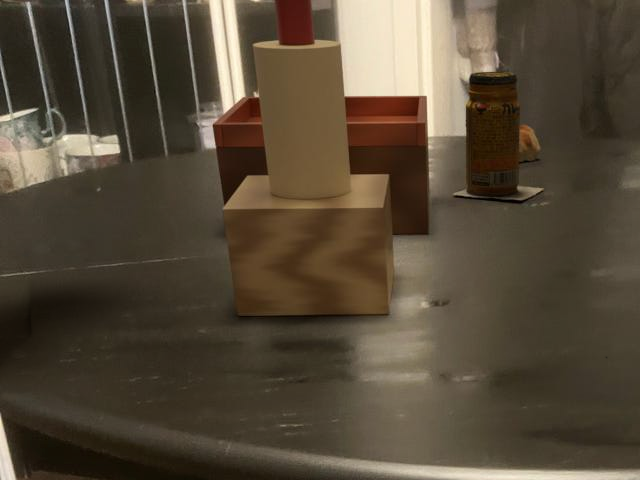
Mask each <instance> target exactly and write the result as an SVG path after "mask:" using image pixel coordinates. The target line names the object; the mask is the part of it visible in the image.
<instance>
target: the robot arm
mask: <svg viewBox="0 0 640 480" xmlns="http://www.w3.org/2000/svg"><path fill="white" fill-rule="evenodd" d="M2 1H3V2H8V3H31V2H42V1H43V0H2Z"/></svg>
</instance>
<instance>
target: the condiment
mask: <svg viewBox="0 0 640 480" xmlns="http://www.w3.org/2000/svg"><path fill="white" fill-rule="evenodd" d="M517 82H518V76H517V75H516V74H515V73H513V72H506V71H478V72H473V73H470V75H469V78H468V83H469V87H468V88H469V90H468V94H469V99H468V101H466V104H465V171H466V173H465V177H466V178H465V180H466V186H467V188H465V189H462V190H460V191H456V192H454V193H452V195H456V196H460V197H461V196H463V197H467V198H469V197H470V198H476V199H477V198H480V199H498V200H499V199H500V200H516V201H524V200H526V199H529V198H531V197H533V196H536V195H537V194H538V193H540V192H541V191H543V190H544V187H543V188H542V187H541V188H540V187H531V186H523V185H522V186H521V185H519V183H520V179H519V177H520V174H519V171H520V168H519V167H520V162H519V131H520V130H519V129H520V126H521V124H520V123H521V122H520V121H521V112H520V111H521V105H520V102H519V100H518V89H517Z"/></svg>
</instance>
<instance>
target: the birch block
mask: <svg viewBox="0 0 640 480" xmlns="http://www.w3.org/2000/svg"><path fill="white" fill-rule="evenodd" d="M350 177H351V191H350V192H348V193H346V194H343V195H340V196H336V197H330V198H322V199H290V198H283V197H278V196H275V195H273V194H272V193H271V192H270V185H269V177H268V175H261V176H247V177H246V178H245V180H244V181H243V182H242V184H241V185H240V186H239V187H238V189H237V190H236V191H235V193H234V194H233V195H232V197H231V198H230V199H229V201H228V202H227V203H226V205H225V206H224V205H223V207H222V209H221V211H222V217H223V223H224V224H223V225H224V231H225V238H226V245H227V251H228V257H229V258H228V259H229V264H230V271H231V278H232V279H231V280H232V286H233V293H234V298H235V305H236V312H237V316H238V317H264V316H265V317H268V316H272V317H275V316H276V317H277V316H278V317H279V316H344V315H345V316H347V315H348V316H349V315H353V316H355V315H389V314H390V312H391V311H390V309H391V302H392V293H393V286H394V278H395V277H394V276H395V257H394V236H393V235H394V234H392V216H391V196H390V177H389V174H373V175H350Z"/></svg>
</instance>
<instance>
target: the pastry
mask: <svg viewBox="0 0 640 480" xmlns="http://www.w3.org/2000/svg"><path fill="white" fill-rule="evenodd" d="M519 130H520V131H519V163H524V161H527V162H533V161H535V160H537V159H538V156H539V155H540V154H541V146H540V144H539V139H538V138H537V137H536V134H535V131H534V129H533V128H532V127H530V126H528V125H526V124H520V129H519Z"/></svg>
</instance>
